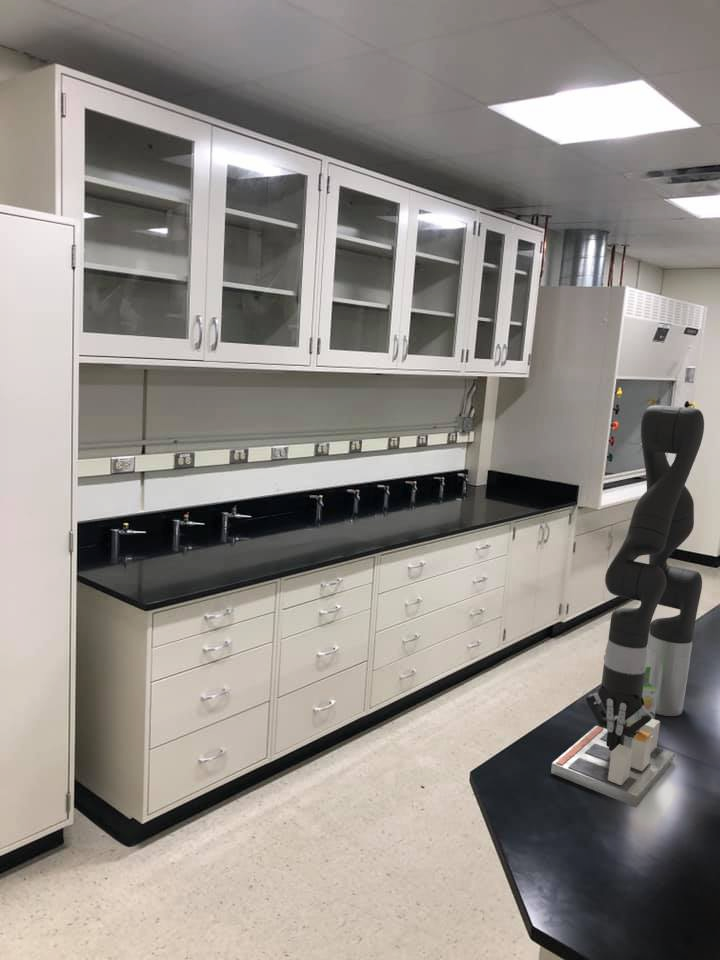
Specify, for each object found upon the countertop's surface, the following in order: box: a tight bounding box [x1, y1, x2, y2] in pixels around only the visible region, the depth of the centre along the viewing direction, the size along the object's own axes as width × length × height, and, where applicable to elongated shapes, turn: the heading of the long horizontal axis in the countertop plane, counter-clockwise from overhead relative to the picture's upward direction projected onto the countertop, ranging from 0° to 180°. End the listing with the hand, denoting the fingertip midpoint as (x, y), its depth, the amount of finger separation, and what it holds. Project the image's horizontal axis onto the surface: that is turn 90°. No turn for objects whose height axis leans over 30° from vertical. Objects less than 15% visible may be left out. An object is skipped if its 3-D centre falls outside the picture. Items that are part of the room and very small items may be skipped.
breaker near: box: [608, 744, 633, 785], centre depth 139 cm, size 4×2×6 cm, turn 142°
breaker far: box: [640, 718, 661, 754], centre depth 151 cm, size 4×2×6 cm, turn 142°
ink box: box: [627, 667, 658, 733], centre depth 164 cm, size 7×4×13 cm, turn 98°
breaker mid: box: [630, 730, 653, 771], centre depth 144 cm, size 4×2×6 cm, turn 142°
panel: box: [550, 725, 675, 808], centre depth 148 cm, size 22×16×2 cm
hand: (613, 750), depth 148 cm, fingers closed
